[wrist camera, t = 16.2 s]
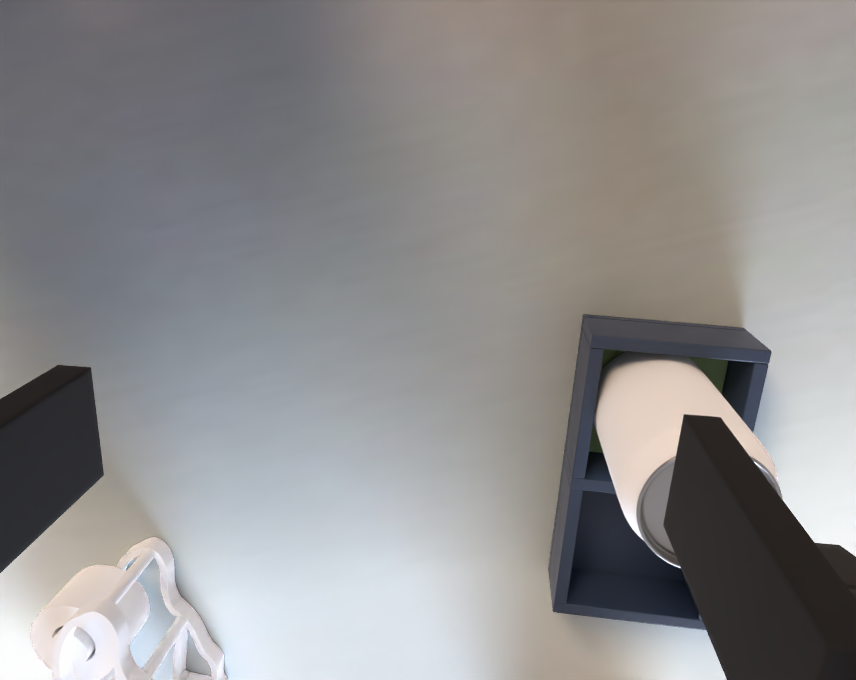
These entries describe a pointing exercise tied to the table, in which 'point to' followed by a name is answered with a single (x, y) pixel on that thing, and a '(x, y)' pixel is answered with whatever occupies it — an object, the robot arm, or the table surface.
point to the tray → (592, 484)
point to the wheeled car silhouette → (119, 623)
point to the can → (658, 434)
